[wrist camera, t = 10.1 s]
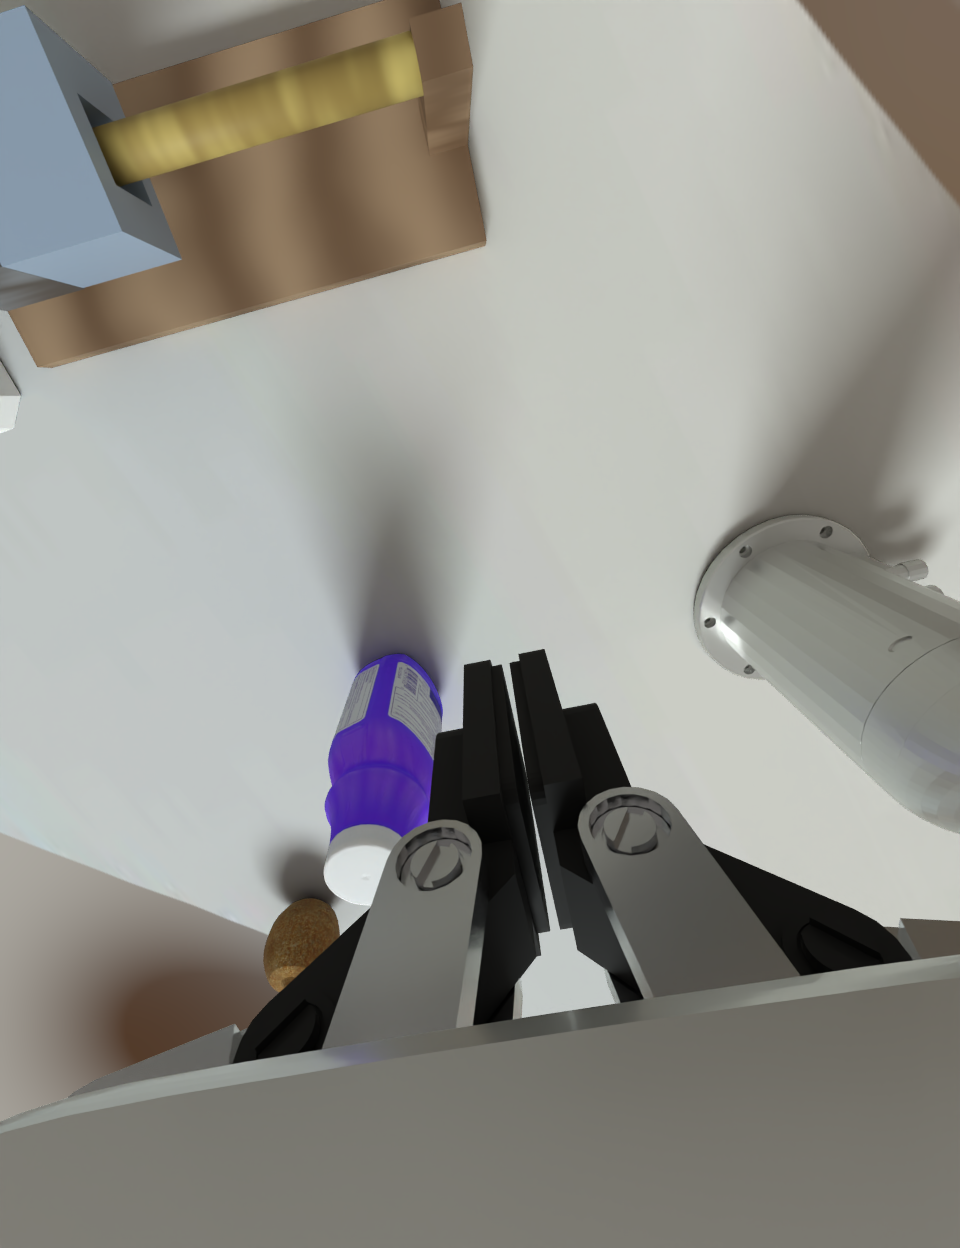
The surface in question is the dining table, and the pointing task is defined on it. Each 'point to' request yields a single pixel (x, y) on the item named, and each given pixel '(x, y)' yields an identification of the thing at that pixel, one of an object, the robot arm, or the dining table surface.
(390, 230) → the rod stand
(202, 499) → the dining table surface
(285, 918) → the fruit
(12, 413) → the pepper shaker
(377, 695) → the bottle
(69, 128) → the sleeve
